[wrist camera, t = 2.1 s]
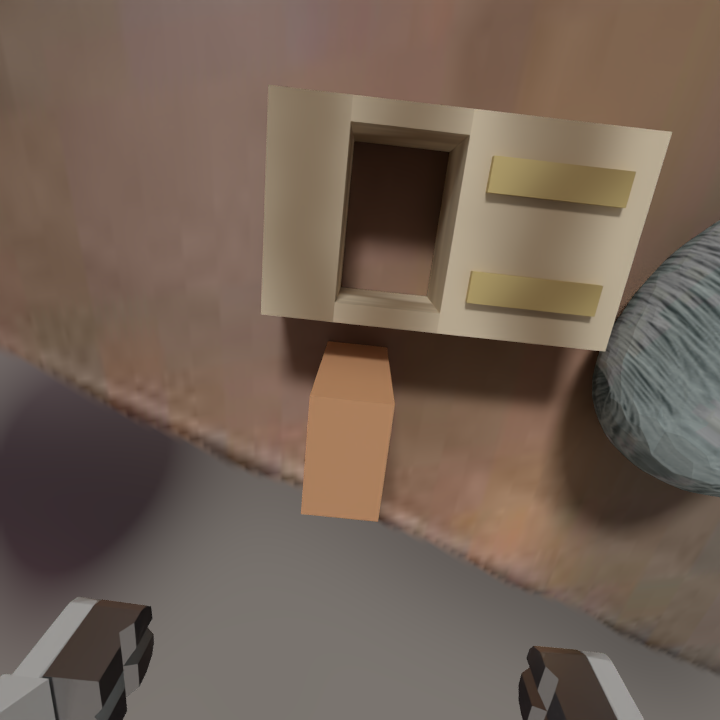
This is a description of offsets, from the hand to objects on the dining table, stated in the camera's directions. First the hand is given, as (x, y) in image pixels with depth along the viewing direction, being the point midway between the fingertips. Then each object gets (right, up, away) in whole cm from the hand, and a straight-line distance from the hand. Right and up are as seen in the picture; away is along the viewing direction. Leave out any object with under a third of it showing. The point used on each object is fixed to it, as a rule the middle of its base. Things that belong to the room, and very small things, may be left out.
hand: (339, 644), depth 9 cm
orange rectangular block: (0, +5, +13) cm, 14 cm away
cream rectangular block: (+4, +12, +10) cm, 17 cm away
